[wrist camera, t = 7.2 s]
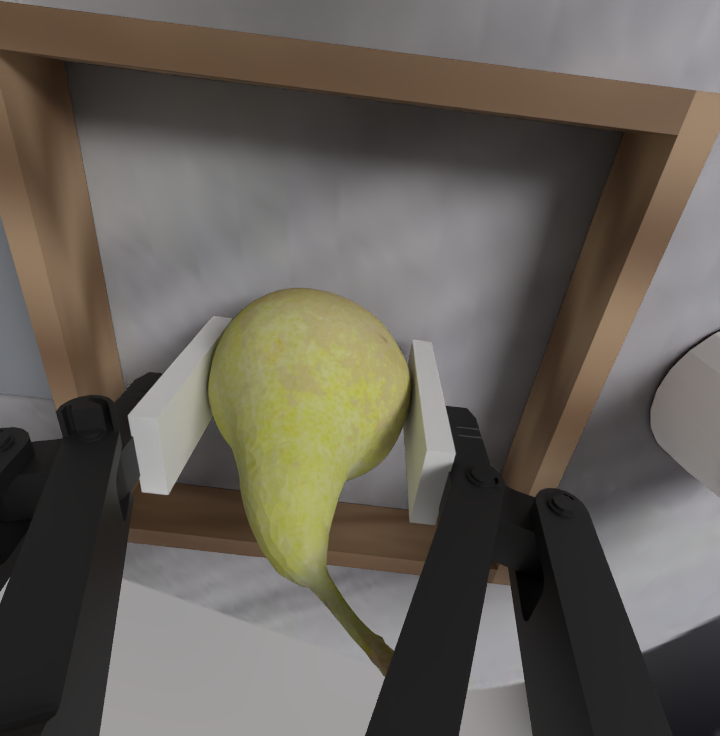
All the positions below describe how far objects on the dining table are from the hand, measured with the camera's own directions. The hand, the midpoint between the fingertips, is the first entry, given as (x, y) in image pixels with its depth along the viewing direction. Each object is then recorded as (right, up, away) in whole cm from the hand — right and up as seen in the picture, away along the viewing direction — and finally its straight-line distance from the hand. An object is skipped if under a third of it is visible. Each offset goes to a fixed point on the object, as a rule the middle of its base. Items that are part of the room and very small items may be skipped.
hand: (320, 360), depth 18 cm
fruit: (0, +1, +1) cm, 1 cm away
